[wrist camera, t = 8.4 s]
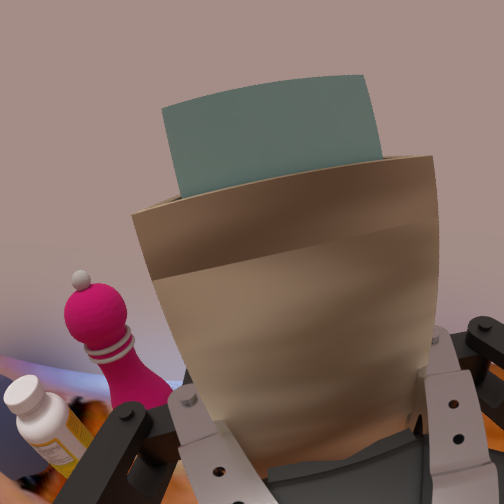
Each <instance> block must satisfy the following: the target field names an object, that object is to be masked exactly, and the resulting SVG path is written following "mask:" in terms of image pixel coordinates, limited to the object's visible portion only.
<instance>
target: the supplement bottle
mask: <svg viewBox="0 0 504 504" xmlns="http://www.w3.org/2000/svg"><path fill="white" fill-rule="evenodd" d="M4 402H5V403H6V405H7V406H8V407H9V409H10V410H11V412H13V413H14V414H16V415H17V427H18V430H19V432H20V434H21V435H22V436H23V437H24V439H25V440H26V441H27V442H28V443H29V444H30V445H31V446H32V447H33V448H34V449H35V450H36V451H37V452H38V453H39V454H40V455H41V456H42V457H43V458H44V459H45V460H46V461H47V462H48V463H49V464H51V465H52V466H53V467H54V468H55V469H56V470H57V471H58V472H60V473H61V474H62V475H63V476H64V477H66V478H67V479H68V478H69V476H70V475H71V473H72V471H73V470H74V468H75V467H76V465H77V464H78V462H79V460H80V459H81V457H82V456H83V454H84V453H85V451H86V450H87V448H88V447H89V445H90V444H91V442H92V440H93V439H94V437H93V435H92V434H91V433H90V432H89V431H88V430H87V429H86V427H85V426H84V425H83V424H82V423H81V422H80V420H79V419H78V418H77V417H76V415H75V414H74V413H73V412H72V410H71V409H70V408H69V407H68V405H67V404H66V403H65V401H64V400H63V399H62V398H61V397H59V396H58V395H56V394H53V393H48V392H45V390H44V387H43V385H42V384H41V382H40V381H39V379H38V378H37V377H36V376H34V375H26V376H23V377H21V378H19V379H17V380H15V381H14V382H13V383H12V384H11V385H10V386H9V387H8V389H7V390H6V392H5V394H4Z"/></svg>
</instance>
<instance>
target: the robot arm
mask: <svg viewBox="0 0 504 504" xmlns="http://www.w3.org/2000/svg"><path fill="white" fill-rule="evenodd" d="M491 361H492V362H493V363H495V364H496V365H498V366H499V367H500V368H502V369H503V370H504V324H502V323H500V322H499V321H497V320H495V319H493V318H491V317H486V316H479V317H476V318H473V319H472V320H471V321H470V322H469V324H468V329H467V331H466V332H461V333H456V334H449V332H448V331H447V330H446V329H444V328H442V327H440V326H436V325H434V330H433V337H432V343H431V349H430V355H429V360H428V365H426V366H424V367H422V368H420V369H418V370H417V375H416V380H415V383H416V398H415V403H414V407H413V411H412V413H410V414H407V418H406V422H405V430H402V431H400V432H398V433H395V434H393V435H390V436H388V437H385V438H382V439H380V440H377V441H376V442H374V443H373V444H371V445H369V446H368V447H366V448H364V449H362V450H361V451H359V452H357V453H355V454H354V455H352V456H350V457H348V458H346V459H343V460H331V461H304V462H299V463H294V464H289V465H283V466H277V467H271V468H267V472H268V477H266V478H264V479H261V478H260V477H259V475H258V474H257V472H256V471H255V469H254V468H253V466H252V465H251V463H250V461H249V460H248V458H247V457H246V455H245V454H244V452H243V450H242V449H241V447H240V445H239V444H238V442H237V440H236V439H235V437H234V435H233V434H232V432H231V430H230V429H229V428H228V427H227V425H226V423H225V421H224V420H216V421H212V419H211V417H210V415H209V413H208V411H207V409H206V407H205V405H204V403H203V401H202V399H201V397H200V395H199V393H198V391H197V389H196V387H195V385H194V383H193V380H192V378H191V376H190V374H189V372H188V370H187V369H186V372H185V377H184V380H183V384H182V386H181V387H179V388H177V389H175V390H174V391H173V392H172V393H171V394H170V396H169V398H168V403H167V404H164V405H161V406H158V407H155V408H151V409H148V410H146V408H145V407H144V405H143V404H141V403H140V402H137V401H128V402H124V403H122V404H120V405H118V406H117V407H115V408H114V409H113V411H112V412H111V413H110V415H109V416H108V418H107V419H106V421H105V422H104V424H103V425H102V427H101V428H100V430H99V431H98V433H97V434H96V436H95V437H94V439H93V440H92V442H91V444H90V445H89V447H88V448H87V450H86V451H85V453H84V454H83V456H82V457H81V459H80V460H79V462H78V464H77V465H76V467H75V468H74V470H73V471H72V473H71V475H70V476H69V478H68V479H67V481H66V482H65V484H64V486H63V487H62V489H61V490H60V492H59V494H58V495H57V497H56V498H55V500H54V502H53V503H52V504H161V501H162V499H163V496H164V494H165V492H166V489H167V487H168V484H169V482H170V479H171V477H172V474H173V472H174V469H175V467H176V464H177V462H178V460H182V463H183V465H184V468H185V471H186V473H187V476H188V479H189V481H190V484H191V486H192V488H193V491H194V493H195V496H196V498H197V500H198V503H199V504H504V452H501V451H497V450H493V449H489V448H488V445H487V439H486V433H485V428H484V423H483V418H482V413H481V411H482V412H483V413H484V414H485V415H486V416H488V417H489V418H490V419H491V420H492V421H493V422H495V423H496V424H497V425H498V426H499V427H500V428H501V429H503V430H504V381H503V380H501V379H500V378H499V377H497V376H496V375H494V374H493V373H492V372H490V371H489V367H490V364H491ZM136 455H137V458H136V460H135V462H134V464H133V465H132V463H133V461H134V459H135V457H136ZM131 465H132V467H131ZM130 467H131V469H130ZM129 469H130V471H129ZM128 471H129V473H128ZM127 473H128V475H127Z"/></svg>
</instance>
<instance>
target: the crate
mask: <svg viewBox="0 0 504 504" xmlns="http://www.w3.org/2000/svg"><path fill="white" fill-rule="evenodd" d="M132 219H133V222H134V226H135V229H136V233H137V236H138V239H139V243H140V246H141V249H142V252H143V256H144V259H145V262H146V265H147V268H148V271H149V274H150V277H151V280H152V282H153V285H154V288H155V291H156V294H157V296H158V299H159V301H160V305H161V307H162V310H163V312H164V315H165V318H166V320H167V323H168V325H169V327H170V330H171V332H172V335H173V338H174V340H175V342H176V345H177V347H178V349H179V352H180V354H181V356H182V359H183V360H184V363H185V365H186V367H187V370H188V372H189V374H190V376H191V378H192V380H193V383H194V385H195V387H196V389H197V391H198V393H199V395H200V397H201V399H202V401H203V403H204V405H205V407H206V409H207V411H208V413H209V415H210V417H211V419H212V421H216V420H224V421H225V423H226V425H227V427H228V428H229V429H230V430H231V432H232V434H233V435H234V437H235V439H236V440H237V442H238V444H239V445H240V447H241V449H242V450H243V452H244V454H245V455H246V457H247V458H248V460H249V461H250V463H251V465H252V466H253V468H254V469H255V471H256V472H257V474H258V475H259V477H260V478H261V479H264V478H266V477H268V472H267V468H271V467H277V466H283V465H289V464H294V463H299V462H304V461H331V460H343V459H346V458H348V457H350V456H352V455H354V454H355V453H357V452H359V451H361V450H362V449H364V448H366V447H368V446H369V445H371V444H373V443H374V442H376V441H377V440H380V439H382V438H385V437H388V436H390V435H393V434H395V433H398V432H400V431H402V430H405V422H406V418H407V414H410V413H412V411H413V407H414V403H415V398H416V383H415V380H416V375H417V370H418V369H420V368H422V367H424V366H426V365H428V360H429V355H430V349H431V343H432V337H433V330H434V322H435V314H436V303H437V292H438V275H439V217H438V201H437V189H436V179H435V171H434V164H433V156H389V157H383V160H376V161H368V162H361V163H354V164H347V165H341V166H335V167H328V168H322V169H317V170H311V171H305V172H300V173H294V174H289V175H284V176H279V177H274V178H269V179H264V180H260V181H255V182H250V183H246V184H241V185H237V186H233V187H228V188H224V189H220V190H216V191H212V192H207V193H203V194H200V195H196V196H192V197H188V198H184V199H182V198H181V194H180V195H177V196H175V197H172V198H170V199H167V200H165V201H163V202H160V203H158V204H155V205H153V206H151V207H148V208H146V209H144V210H141V211H139V212H137V213H135V214H132Z"/></svg>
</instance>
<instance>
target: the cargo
mask: <svg viewBox="0 0 504 504" xmlns="http://www.w3.org/2000/svg"><path fill="white" fill-rule="evenodd" d="M162 114H163V118H164V123H165V128H166V133H167V138H168V142H169V147H170V151H171V155H172V160H173V164H174V169H175V173H176V177H177V181H178V185H179V189H180V194H181V198H182V199H184V198H188V197H192V196H196V195H200V194H203V193H207V192H212V191H216V190H220V189H224V188H228V187H233V186H237V185H241V184H246V183H250V182H255V181H260V180H264V179H269V178H274V177H279V176H284V175H289V174H294V173H300V172H305V171H311V170H317V169H322V168H328V167H335V166H341V165H347V164H354V163H361V162H368V161H376V160H383V156H382V151H381V146H380V141H379V135H378V131H377V126H376V122H375V117H374V113H373V109H372V105H371V101H370V97H369V93H368V90H367V86H366V83H365V79H364V76H363V75H342V76H324V77H312V78H303V79H293V80H285V81H278V82H272V83H265V84H259V85H253V86H248V87H243V88H238V89H233V90H228V91H224V92H219V93H215V94H211V95H207V96H203V97H199V98H195V99H192V100H188V101H185V102H181V103H178V104H175V105H171V106H168V107H165V108H162Z"/></svg>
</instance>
